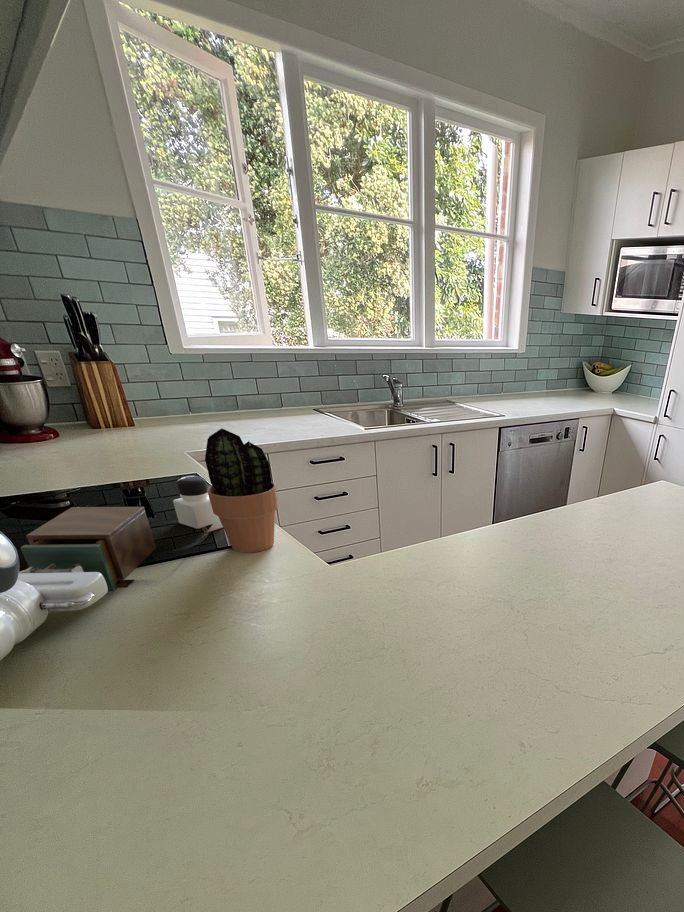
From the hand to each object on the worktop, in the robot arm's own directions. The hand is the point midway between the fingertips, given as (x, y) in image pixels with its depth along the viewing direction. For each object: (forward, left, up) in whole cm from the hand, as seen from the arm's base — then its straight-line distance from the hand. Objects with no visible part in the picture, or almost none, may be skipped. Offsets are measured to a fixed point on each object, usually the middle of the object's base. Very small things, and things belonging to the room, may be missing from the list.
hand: (58, 570), depth 93 cm
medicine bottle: (+11, +38, -7) cm, 40 cm away
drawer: (0, +7, -6) cm, 9 cm away
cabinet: (0, +14, -7) cm, 15 cm away
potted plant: (+25, +26, -7) cm, 37 cm away
